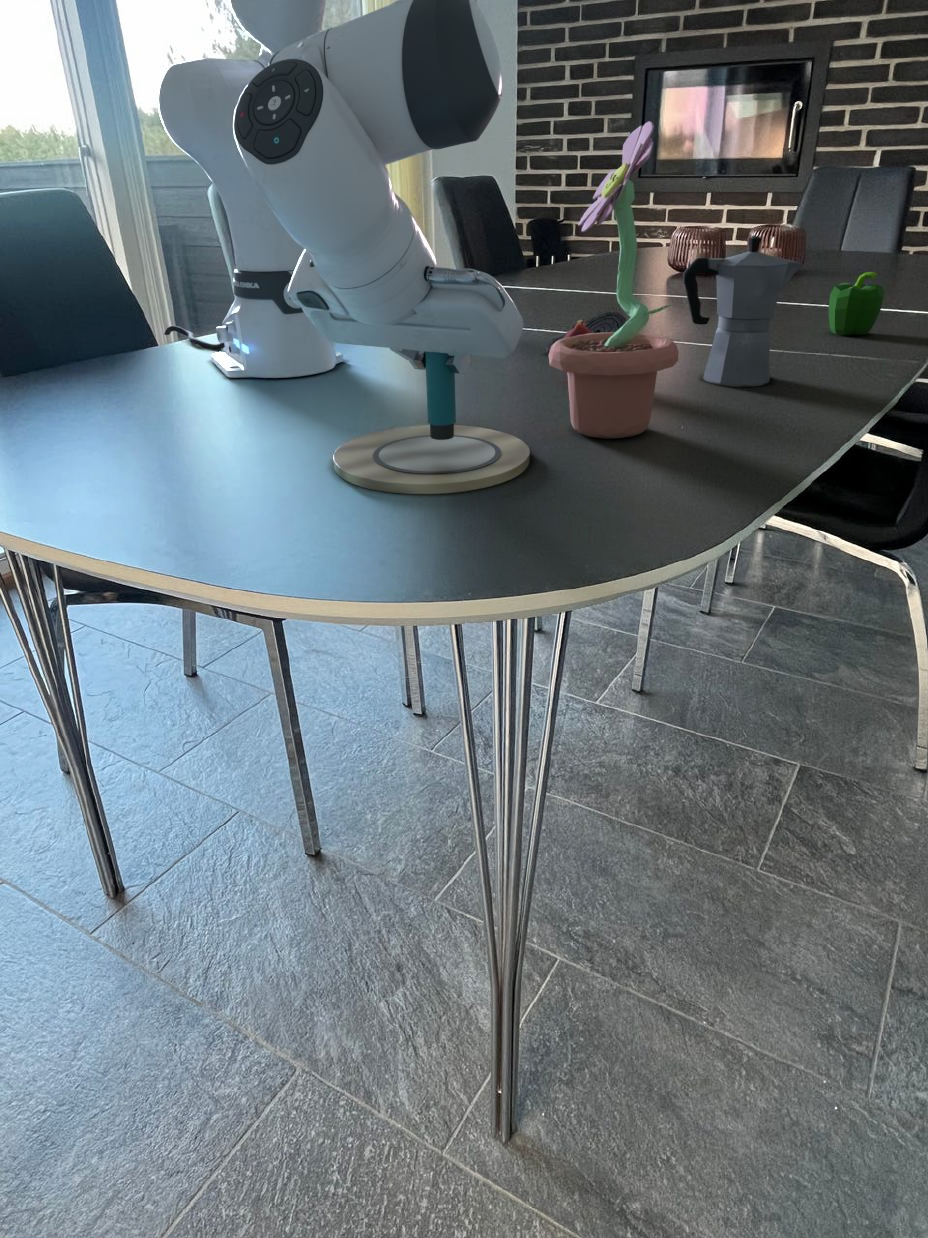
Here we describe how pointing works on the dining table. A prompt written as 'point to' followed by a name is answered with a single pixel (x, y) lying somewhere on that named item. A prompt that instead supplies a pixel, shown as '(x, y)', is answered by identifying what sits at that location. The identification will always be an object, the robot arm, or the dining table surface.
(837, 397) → the dining table surface
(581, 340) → the decorative flower
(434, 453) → the round wooden trivet
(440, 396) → the marker
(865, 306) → the bell pepper
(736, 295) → the coffeepot
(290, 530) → the dining table surface
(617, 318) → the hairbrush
